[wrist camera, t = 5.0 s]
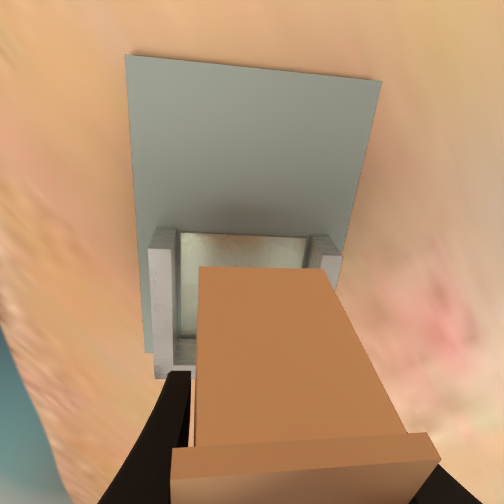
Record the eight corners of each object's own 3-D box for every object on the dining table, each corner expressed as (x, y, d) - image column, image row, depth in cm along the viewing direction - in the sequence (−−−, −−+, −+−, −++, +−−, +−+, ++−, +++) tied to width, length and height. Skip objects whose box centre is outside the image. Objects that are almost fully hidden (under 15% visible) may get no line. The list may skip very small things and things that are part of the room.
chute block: (185, 265, 10) (170, 479, 5) (334, 269, 11) (441, 459, 6) (184, 390, 14) (174, 599, 9) (301, 386, 14) (354, 576, 9)
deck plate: (131, 55, 15) (124, 54, 14) (371, 80, 16) (382, 81, 15) (148, 339, 22) (145, 353, 21) (313, 340, 23) (318, 353, 22)
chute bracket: (156, 226, 17) (147, 248, 15) (328, 234, 18) (343, 256, 16) (161, 346, 21) (154, 378, 19) (304, 347, 22) (314, 378, 20)
